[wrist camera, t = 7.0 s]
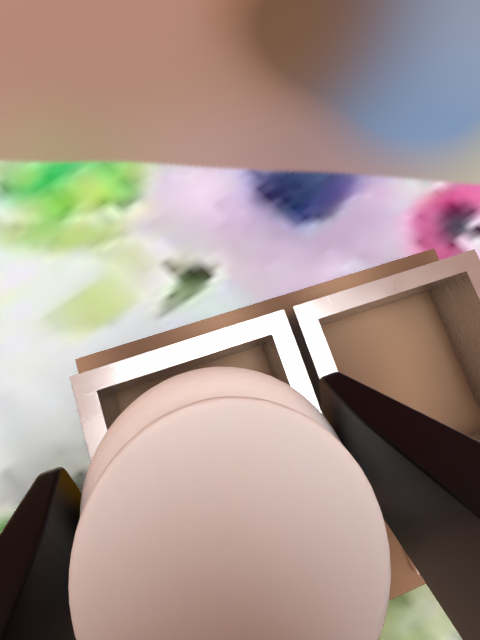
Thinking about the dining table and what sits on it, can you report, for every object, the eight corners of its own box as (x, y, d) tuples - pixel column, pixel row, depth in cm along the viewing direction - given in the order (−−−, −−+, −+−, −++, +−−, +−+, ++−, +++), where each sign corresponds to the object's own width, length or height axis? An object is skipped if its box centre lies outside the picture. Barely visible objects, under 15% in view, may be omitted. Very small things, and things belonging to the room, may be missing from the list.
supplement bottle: (190, 575, 13) (152, 998, 4) (110, 439, 14) (-92, 501, 4) (315, 479, 14) (533, 617, 5) (234, 357, 15) (282, 267, 6)
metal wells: (145, 582, 16) (131, 623, 13) (93, 381, 17) (69, 376, 14) (509, 436, 18) (566, 443, 15) (435, 272, 20) (474, 249, 17)
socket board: (166, 680, 16) (161, 711, 14) (83, 362, 19) (71, 358, 17) (536, 516, 19) (568, 527, 17) (421, 257, 21) (439, 244, 20)
